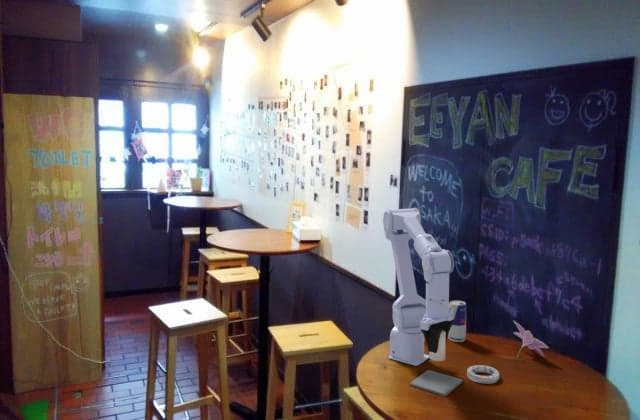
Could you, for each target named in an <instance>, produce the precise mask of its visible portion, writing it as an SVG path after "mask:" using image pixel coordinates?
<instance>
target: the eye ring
mask: <svg viewBox="0 0 640 420" xmlns="http://www.w3.org/2000/svg"><path fill="white" fill-rule="evenodd" d="M466 369H467V371H466V372H467V373H466V375H467V378H468V379H469V380H471V381H472V382H474V383H478V384H483V385H484V384H488V385H490V384H495V383H497V382H498V381H499V380H500V373H499V371H498V370H497V369H496V368H494V367H492V366H489V365H483V364H482V365H481V364H480V365H479V364H476V365H471V366H469V367H468V368H466ZM476 373H485V374H489V375H480V374H476Z"/></svg>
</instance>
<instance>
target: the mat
mask: <svg viewBox="0 0 640 420" xmlns="http://www.w3.org/2000/svg"><path fill="white" fill-rule="evenodd" d="M463 381H464V380H463V379H462V378H458V377H454V376H451V375H448V374H444V373H441V372H437V371H433V370H430V369H428V370H426V371H424V372H423V373H422V374H420V375H419V376H417V377H416V378H415V379H413V380H412V381H411V382H410V383H409V386H411V387H414V388H417V389H421V390H423V391H427V392H431V393H433V394H436V395H440V396H443V397H447V396H448V395H449V394H450V393H452V392H453V391H455V389H456V388H457V387H458V386H460V385H461V384H462V383H463Z"/></svg>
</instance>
